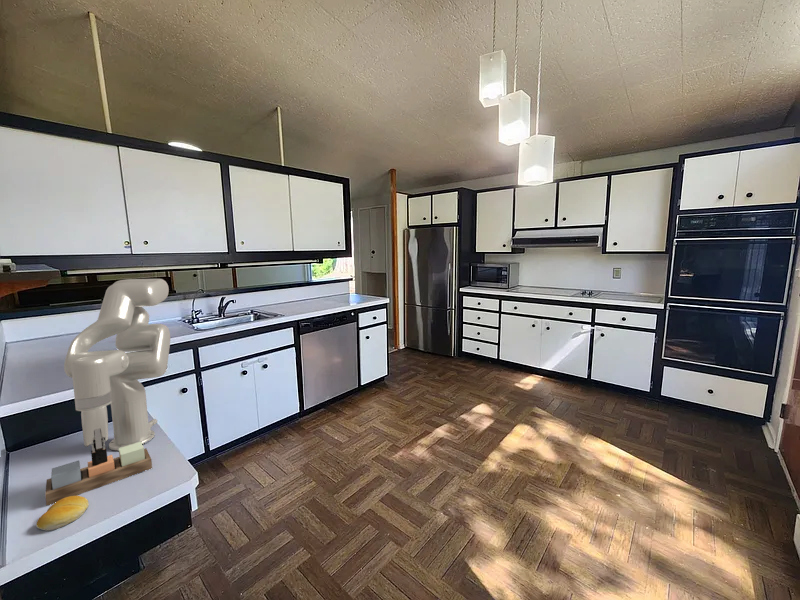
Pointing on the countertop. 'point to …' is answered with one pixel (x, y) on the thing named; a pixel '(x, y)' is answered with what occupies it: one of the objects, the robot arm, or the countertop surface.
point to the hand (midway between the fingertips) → (100, 462)
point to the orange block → (101, 467)
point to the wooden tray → (96, 479)
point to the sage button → (131, 454)
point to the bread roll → (63, 513)
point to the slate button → (66, 474)
